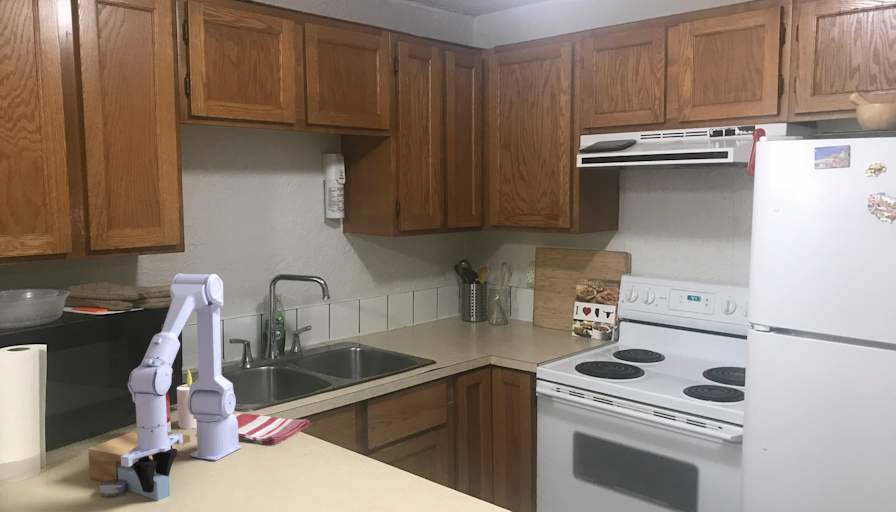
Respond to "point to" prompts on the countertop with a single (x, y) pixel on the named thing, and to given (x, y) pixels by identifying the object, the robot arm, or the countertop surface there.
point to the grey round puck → (113, 488)
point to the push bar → (133, 484)
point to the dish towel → (267, 428)
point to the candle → (185, 405)
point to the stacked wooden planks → (115, 455)
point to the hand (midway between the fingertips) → (155, 488)
